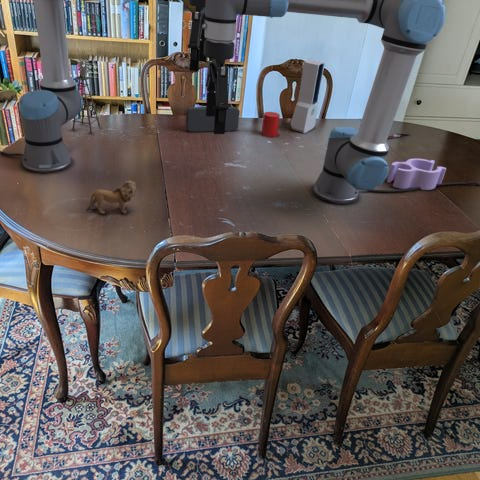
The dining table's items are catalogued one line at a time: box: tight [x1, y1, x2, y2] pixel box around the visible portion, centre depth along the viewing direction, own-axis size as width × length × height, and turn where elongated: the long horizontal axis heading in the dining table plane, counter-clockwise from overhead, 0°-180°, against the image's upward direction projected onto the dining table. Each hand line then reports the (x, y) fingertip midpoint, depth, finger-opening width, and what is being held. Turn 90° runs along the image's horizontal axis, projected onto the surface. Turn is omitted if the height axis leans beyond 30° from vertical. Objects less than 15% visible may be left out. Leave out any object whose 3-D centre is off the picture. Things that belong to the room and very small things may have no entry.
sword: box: [387, 133, 409, 140], centre depth 213 cm, size 31×3×1 cm, turn 126°
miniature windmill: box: [69, 50, 102, 134], centre depth 182 cm, size 9×8×30 cm
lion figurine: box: [85, 180, 137, 215], centre depth 135 cm, size 15×5×9 cm, turn 110°
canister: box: [261, 111, 281, 138], centre depth 202 cm, size 7×7×9 cm
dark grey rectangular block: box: [185, 106, 241, 133], centre depth 199 cm, size 23×3×10 cm, turn 108°
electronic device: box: [290, 58, 326, 134], centre depth 206 cm, size 12×8×30 cm, turn 148°
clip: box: [386, 157, 447, 191], centre depth 173 cm, size 20×12×7 cm, turn 109°
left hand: (198, 66), depth 149 cm, fingers open, 13 cm apart
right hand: (214, 124), depth 125 cm, fingers open, 13 cm apart
